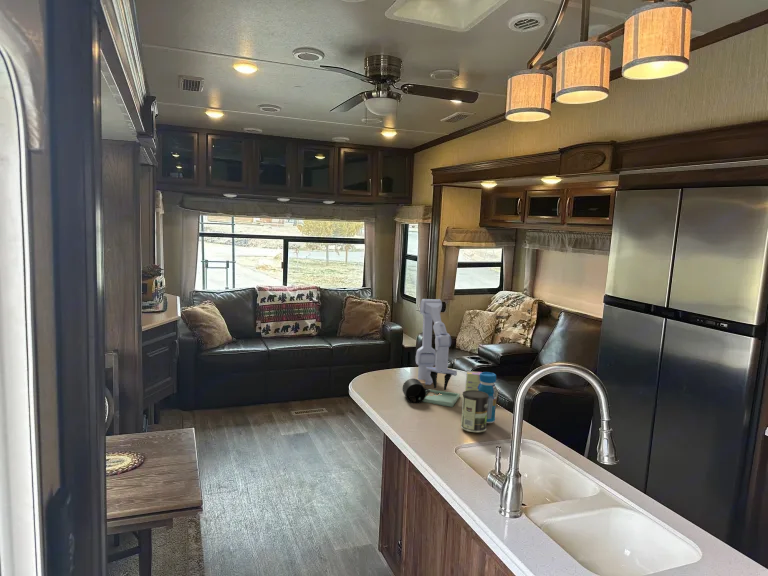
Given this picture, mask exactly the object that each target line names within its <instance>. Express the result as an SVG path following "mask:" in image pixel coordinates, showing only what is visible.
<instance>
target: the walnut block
mask: <svg viewBox="0 0 768 576" xmlns="http://www.w3.org/2000/svg"><path fill="white" fill-rule="evenodd" d="M416 379H417V380H419V381H420V382H421V384H422V385H423V387H424V388H425V389H426V384H425V380H420V379H418V378H416Z"/></svg>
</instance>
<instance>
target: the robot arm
mask: <svg viewBox="0 0 768 576" xmlns="http://www.w3.org/2000/svg"><path fill="white" fill-rule="evenodd" d="M419 305H420V307H419V313H420V314H421V316H422V318H423V319H422V336H421V337H422V341H421V346H420V347H419V348H418V349H417V350H416V352H415V353H416V354H415V363H416V365H417V366H418V367H417V370H418V372H417V379H420V380H425V386H431V385H432V384H433V389H436V388H437V383H438V382H437V381H438V380H437V379H438V374H443V375H444V376H443V377H444V384H443V390H444V391H445V390H446V391H447V388H448V387H447V386H448V384H449V382H450V379H451V378H452V376H454V377H456V376H458V371H457V370H455V369H454V370H453V369H449V368H448V364H449V351H450V349H449V348H450V347H451V345H452V336H451V335H450V333H448V331H447V327H446V324H445V323H444V322H443V321H442V315H441V311H442V309H443V308H442V307H443V302H442V300H441V299H440V298H437V299H435V298H434V299H431V298H422V299H421V300H420V304H419ZM433 332H434V333H433ZM433 334H434V337H435V339H434V344H435V348H433V345H432V344H433V343H432V341H433Z"/></svg>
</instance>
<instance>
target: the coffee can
mask: <svg viewBox="0 0 768 576" xmlns="http://www.w3.org/2000/svg"><path fill="white" fill-rule="evenodd" d="M488 397H489V395H488V394H487V393H485V392H482V391H476V390H468V391H465V390H464V391H462V403H461V404H462V405H461V420H460V421H461V422H460V427H461V429H462V430H464V431H466V432H471V433H484V432H486V431H487V423H486V422H487V408H488Z"/></svg>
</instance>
